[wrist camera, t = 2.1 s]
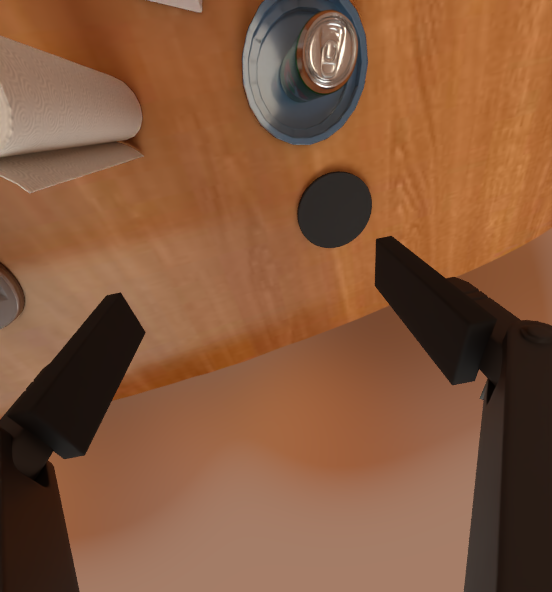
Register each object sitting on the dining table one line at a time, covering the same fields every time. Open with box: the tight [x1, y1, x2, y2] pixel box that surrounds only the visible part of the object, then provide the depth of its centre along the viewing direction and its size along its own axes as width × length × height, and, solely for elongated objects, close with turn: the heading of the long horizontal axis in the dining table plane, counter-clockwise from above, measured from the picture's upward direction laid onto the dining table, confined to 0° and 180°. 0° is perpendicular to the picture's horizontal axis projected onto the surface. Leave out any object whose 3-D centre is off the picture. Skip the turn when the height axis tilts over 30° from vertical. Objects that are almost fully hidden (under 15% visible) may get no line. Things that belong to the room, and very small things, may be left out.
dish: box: [242, 0, 368, 145], centre depth 29 cm, size 13×13×3 cm
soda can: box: [280, 10, 358, 103], centre depth 25 cm, size 5×5×12 cm
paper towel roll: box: [0, 36, 143, 193], centre depth 22 cm, size 7×6×21 cm
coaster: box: [297, 172, 372, 248], centre depth 39 cm, size 11×11×1 cm
